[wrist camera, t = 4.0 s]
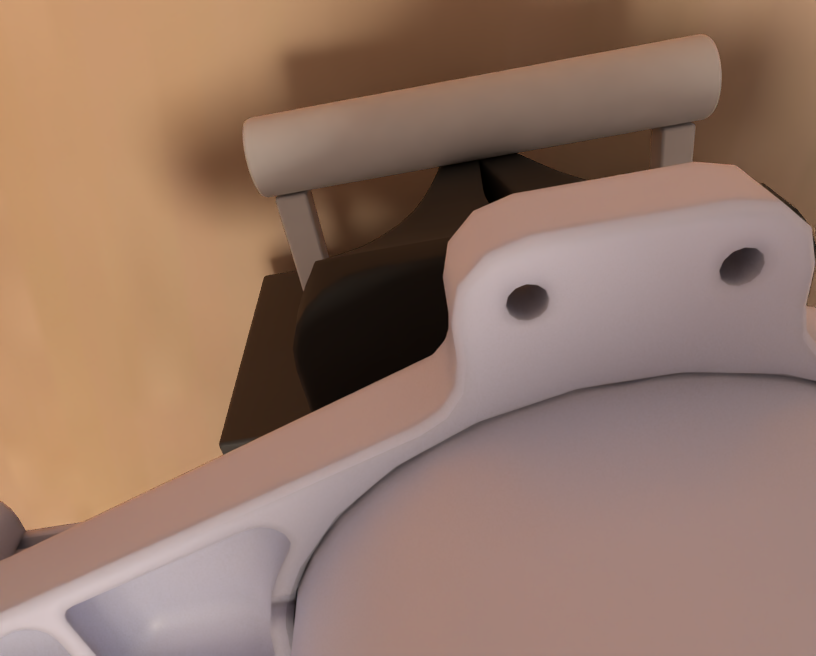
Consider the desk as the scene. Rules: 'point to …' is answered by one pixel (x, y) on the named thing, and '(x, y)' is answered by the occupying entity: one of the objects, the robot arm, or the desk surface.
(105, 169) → the desk surface
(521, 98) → the black drawer
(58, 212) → the desk surface
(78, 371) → the desk surface
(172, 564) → the robot arm
